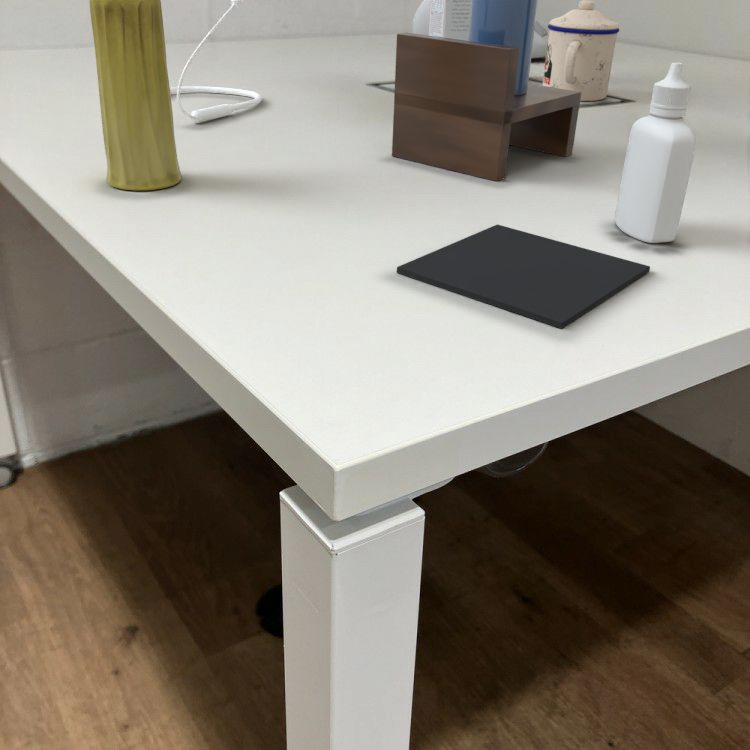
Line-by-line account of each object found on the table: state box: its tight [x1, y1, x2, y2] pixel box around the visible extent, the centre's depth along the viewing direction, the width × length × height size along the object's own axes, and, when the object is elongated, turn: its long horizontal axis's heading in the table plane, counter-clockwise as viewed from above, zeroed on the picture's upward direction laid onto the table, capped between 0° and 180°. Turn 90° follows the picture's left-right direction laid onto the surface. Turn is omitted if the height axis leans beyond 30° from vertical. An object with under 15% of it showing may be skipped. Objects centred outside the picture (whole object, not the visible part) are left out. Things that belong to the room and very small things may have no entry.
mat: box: [396, 223, 651, 329], centre depth 54 cm, size 12×12×1 cm
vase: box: [89, 0, 182, 192], centre depth 65 cm, size 6×6×14 cm
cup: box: [468, 0, 539, 96], centre depth 76 cm, size 6×6×9 cm
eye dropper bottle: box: [614, 62, 697, 244], centre depth 59 cm, size 4×6×12 cm
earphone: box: [169, 0, 263, 124], centre depth 94 cm, size 14×17×18 cm
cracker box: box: [429, 0, 471, 41], centre depth 113 cm, size 14×6×21 cm, turn 110°
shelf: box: [391, 32, 581, 182], centre depth 78 cm, size 14×12×11 cm
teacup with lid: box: [541, 0, 620, 102], centre depth 106 cm, size 12×9×12 cm
